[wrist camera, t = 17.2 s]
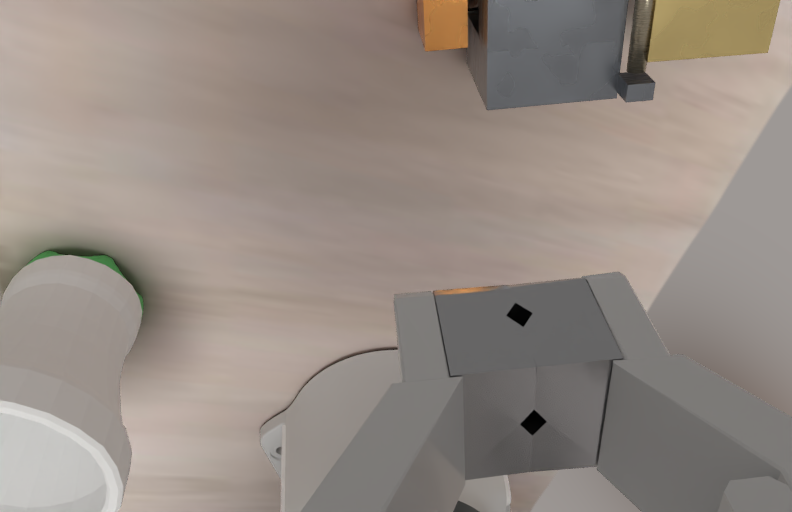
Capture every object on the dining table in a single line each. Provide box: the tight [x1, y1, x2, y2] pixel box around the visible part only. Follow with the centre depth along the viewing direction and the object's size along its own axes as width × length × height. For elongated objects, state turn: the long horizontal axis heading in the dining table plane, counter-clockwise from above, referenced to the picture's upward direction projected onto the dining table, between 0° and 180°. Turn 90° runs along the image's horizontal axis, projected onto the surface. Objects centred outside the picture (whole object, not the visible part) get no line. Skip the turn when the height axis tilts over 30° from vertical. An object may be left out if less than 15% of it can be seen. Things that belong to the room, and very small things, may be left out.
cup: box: [0, 251, 144, 512], centre depth 39 cm, size 11×11×14 cm
